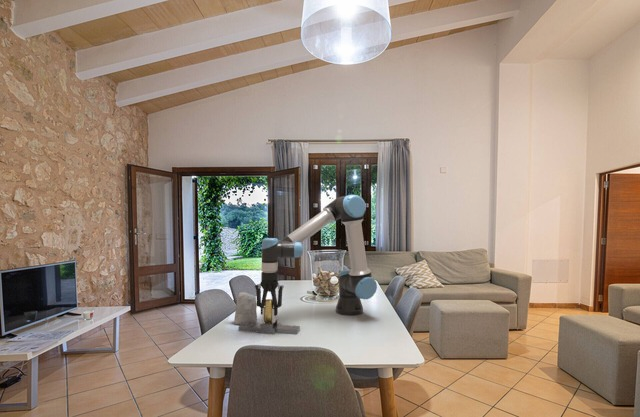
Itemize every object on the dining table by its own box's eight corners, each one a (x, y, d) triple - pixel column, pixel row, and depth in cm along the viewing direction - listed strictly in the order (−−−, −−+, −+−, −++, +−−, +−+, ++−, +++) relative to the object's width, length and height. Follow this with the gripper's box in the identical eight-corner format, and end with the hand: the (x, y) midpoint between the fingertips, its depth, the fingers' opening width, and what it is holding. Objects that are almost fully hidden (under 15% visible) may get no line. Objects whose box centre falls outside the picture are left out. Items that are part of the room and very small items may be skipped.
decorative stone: (257, 321, 162) (258, 291, 162) (254, 325, 156) (255, 294, 157) (236, 321, 162) (237, 291, 163) (232, 325, 156) (233, 294, 157)
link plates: (300, 329, 150) (300, 320, 150) (296, 335, 142) (296, 326, 142) (244, 326, 155) (244, 317, 155) (237, 331, 147) (237, 322, 147)
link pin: (274, 325, 150) (274, 299, 151) (271, 327, 146) (271, 301, 147) (266, 324, 151) (266, 298, 152) (263, 327, 147) (263, 300, 148)
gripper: (289, 270, 152) (288, 320, 151) (255, 269, 155) (254, 318, 154) (284, 273, 145) (284, 325, 144) (249, 272, 148) (248, 323, 147)
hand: (269, 322), depth 149 cm, fingers closed on link pin, 4 cm apart
